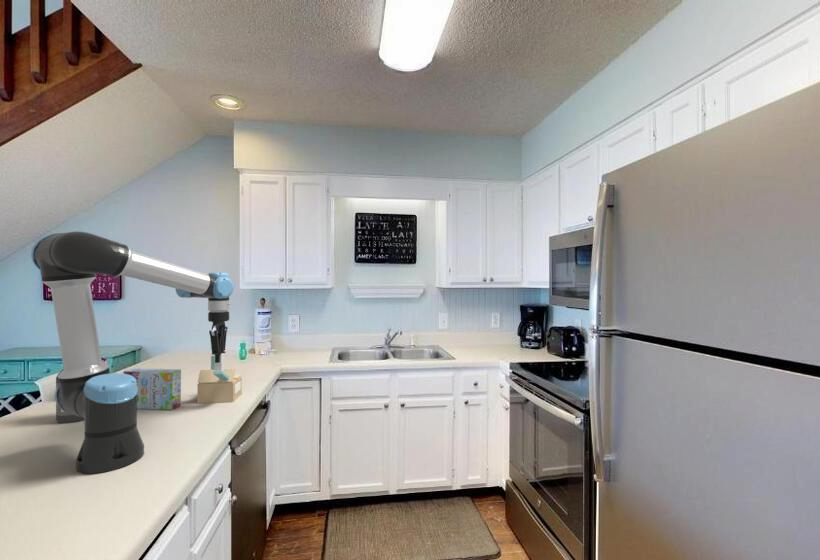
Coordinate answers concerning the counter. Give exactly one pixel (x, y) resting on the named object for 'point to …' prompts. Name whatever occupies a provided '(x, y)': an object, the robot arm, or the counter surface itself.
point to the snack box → (157, 388)
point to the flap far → (213, 368)
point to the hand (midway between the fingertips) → (218, 370)
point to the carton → (219, 391)
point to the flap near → (216, 376)
